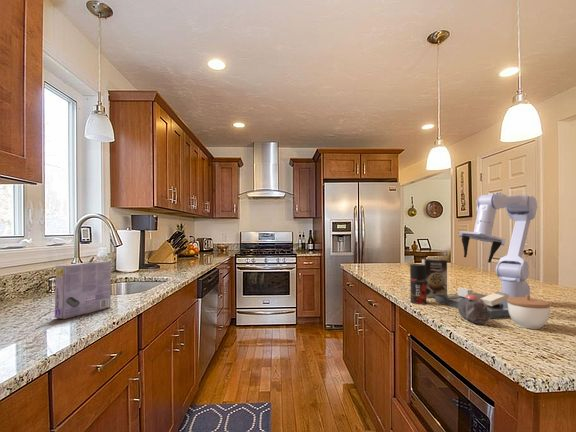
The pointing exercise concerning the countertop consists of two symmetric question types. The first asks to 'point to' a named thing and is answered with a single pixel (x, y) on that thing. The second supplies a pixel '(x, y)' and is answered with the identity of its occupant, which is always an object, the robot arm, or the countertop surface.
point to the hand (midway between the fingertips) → (477, 259)
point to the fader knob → (464, 292)
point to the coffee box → (435, 277)
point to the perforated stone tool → (473, 310)
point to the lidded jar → (528, 311)
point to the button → (472, 297)
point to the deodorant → (418, 283)
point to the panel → (493, 311)
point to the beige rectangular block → (494, 298)
